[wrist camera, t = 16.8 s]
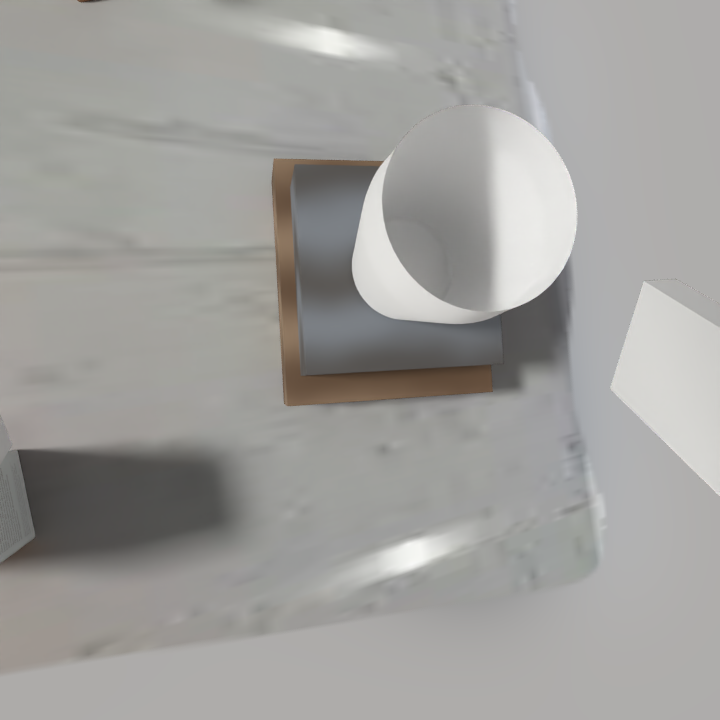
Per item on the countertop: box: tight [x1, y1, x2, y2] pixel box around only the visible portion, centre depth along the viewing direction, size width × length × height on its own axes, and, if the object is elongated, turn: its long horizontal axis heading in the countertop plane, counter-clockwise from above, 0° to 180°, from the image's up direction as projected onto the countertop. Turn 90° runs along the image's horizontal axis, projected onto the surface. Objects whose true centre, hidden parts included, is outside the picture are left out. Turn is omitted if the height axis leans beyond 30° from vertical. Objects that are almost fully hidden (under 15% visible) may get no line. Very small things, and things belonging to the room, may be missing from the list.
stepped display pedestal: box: [272, 159, 504, 406], centre depth 37 cm, size 17×15×8 cm
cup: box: [352, 105, 577, 324], centre depth 28 cm, size 9×9×12 cm
